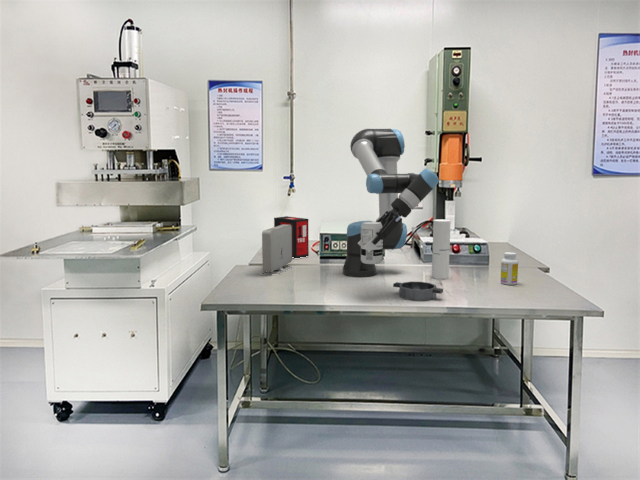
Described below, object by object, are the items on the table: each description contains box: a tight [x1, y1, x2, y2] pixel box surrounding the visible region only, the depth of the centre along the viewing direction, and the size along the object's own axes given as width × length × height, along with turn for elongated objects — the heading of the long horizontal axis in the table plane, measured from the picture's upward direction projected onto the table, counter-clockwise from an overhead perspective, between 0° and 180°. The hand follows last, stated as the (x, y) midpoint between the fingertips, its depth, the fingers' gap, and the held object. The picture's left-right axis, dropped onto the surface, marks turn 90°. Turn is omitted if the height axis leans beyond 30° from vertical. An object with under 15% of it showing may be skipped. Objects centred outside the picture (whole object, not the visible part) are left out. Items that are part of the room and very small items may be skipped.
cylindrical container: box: [431, 218, 452, 280], centre depth 239 cm, size 7×7×25 cm
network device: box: [261, 224, 293, 275], centre depth 253 cm, size 26×9×20 cm, turn 161°
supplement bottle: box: [500, 251, 519, 286], centre depth 228 cm, size 7×7×13 cm
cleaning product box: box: [273, 215, 310, 259], centre depth 289 cm, size 16×9×20 cm, turn 46°
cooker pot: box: [393, 281, 444, 302], centre depth 209 cm, size 19×14×4 cm
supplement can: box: [361, 221, 384, 265], centre depth 206 cm, size 8×8×15 cm
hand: (363, 247), depth 206 cm, fingers closed on supplement can, 8 cm apart
